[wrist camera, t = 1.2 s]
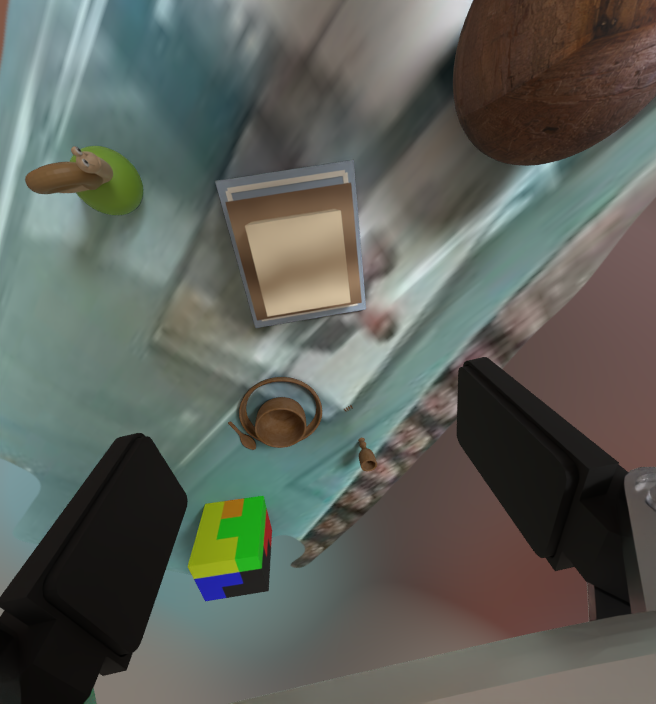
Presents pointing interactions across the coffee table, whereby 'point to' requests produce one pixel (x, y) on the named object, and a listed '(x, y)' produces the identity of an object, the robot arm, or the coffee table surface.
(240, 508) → the puzzle toy
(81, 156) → the snail figurine
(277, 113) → the coffee table surface
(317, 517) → the coffee table surface
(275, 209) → the plinth
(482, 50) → the wooden sphere
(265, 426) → the place setting
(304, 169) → the blueprint board
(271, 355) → the coffee table surface
